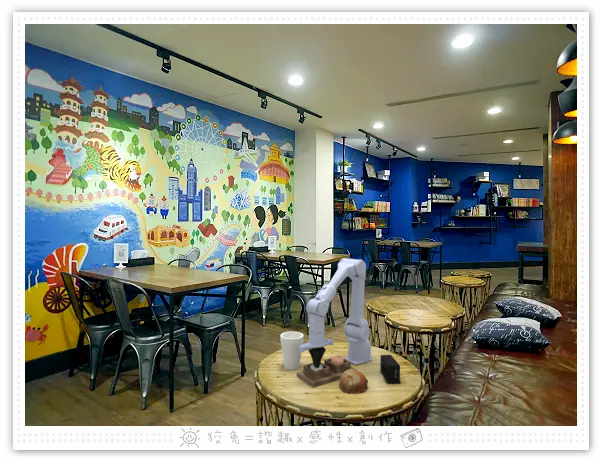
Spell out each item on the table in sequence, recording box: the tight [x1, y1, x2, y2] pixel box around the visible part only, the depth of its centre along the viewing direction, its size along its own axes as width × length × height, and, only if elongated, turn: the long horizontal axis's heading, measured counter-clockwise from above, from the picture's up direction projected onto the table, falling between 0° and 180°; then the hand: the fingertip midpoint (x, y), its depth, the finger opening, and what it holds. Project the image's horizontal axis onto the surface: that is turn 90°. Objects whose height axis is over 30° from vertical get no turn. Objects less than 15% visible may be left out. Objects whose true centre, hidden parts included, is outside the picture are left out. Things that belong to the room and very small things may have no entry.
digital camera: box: [379, 354, 401, 385], centre depth 135 cm, size 10×5×7 cm, turn 4°
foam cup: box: [279, 331, 305, 371], centre depth 144 cm, size 10×9×13 cm
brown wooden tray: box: [296, 355, 358, 389], centre depth 137 cm, size 21×11×4 cm, turn 123°
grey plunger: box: [310, 364, 323, 371], centre depth 134 cm, size 5×5×3 cm
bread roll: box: [338, 369, 369, 394], centre depth 127 cm, size 10×10×8 cm
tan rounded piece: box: [330, 356, 344, 365], centre depth 139 cm, size 5×5×3 cm
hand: (316, 366), depth 134 cm, fingers closed, pressing on grey plunger
